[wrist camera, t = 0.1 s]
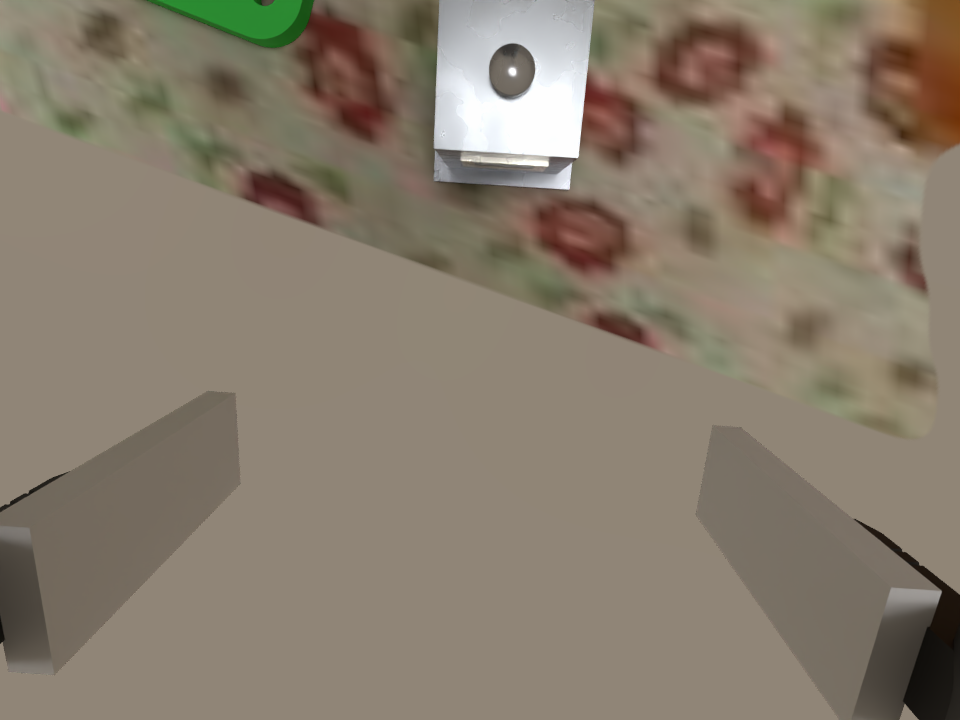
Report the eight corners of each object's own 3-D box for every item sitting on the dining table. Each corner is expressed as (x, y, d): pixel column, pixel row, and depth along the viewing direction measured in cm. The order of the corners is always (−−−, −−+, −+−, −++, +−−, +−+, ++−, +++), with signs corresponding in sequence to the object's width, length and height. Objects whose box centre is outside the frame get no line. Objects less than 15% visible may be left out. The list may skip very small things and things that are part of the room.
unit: (440, 31, 37) (419, -49, 26) (583, 40, 37) (620, -37, 26) (434, 181, 39) (413, 164, 28) (568, 190, 39) (596, 176, 28)
